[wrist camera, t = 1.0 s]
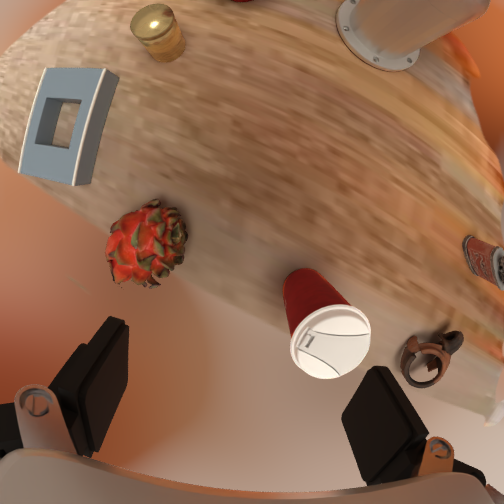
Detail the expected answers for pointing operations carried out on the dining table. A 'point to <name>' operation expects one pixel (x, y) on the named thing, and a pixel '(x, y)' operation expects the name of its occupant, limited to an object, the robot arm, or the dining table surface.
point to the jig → (85, 130)
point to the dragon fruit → (146, 244)
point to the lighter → (485, 260)
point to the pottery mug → (442, 351)
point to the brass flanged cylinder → (158, 32)
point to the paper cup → (323, 326)
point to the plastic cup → (241, 0)
